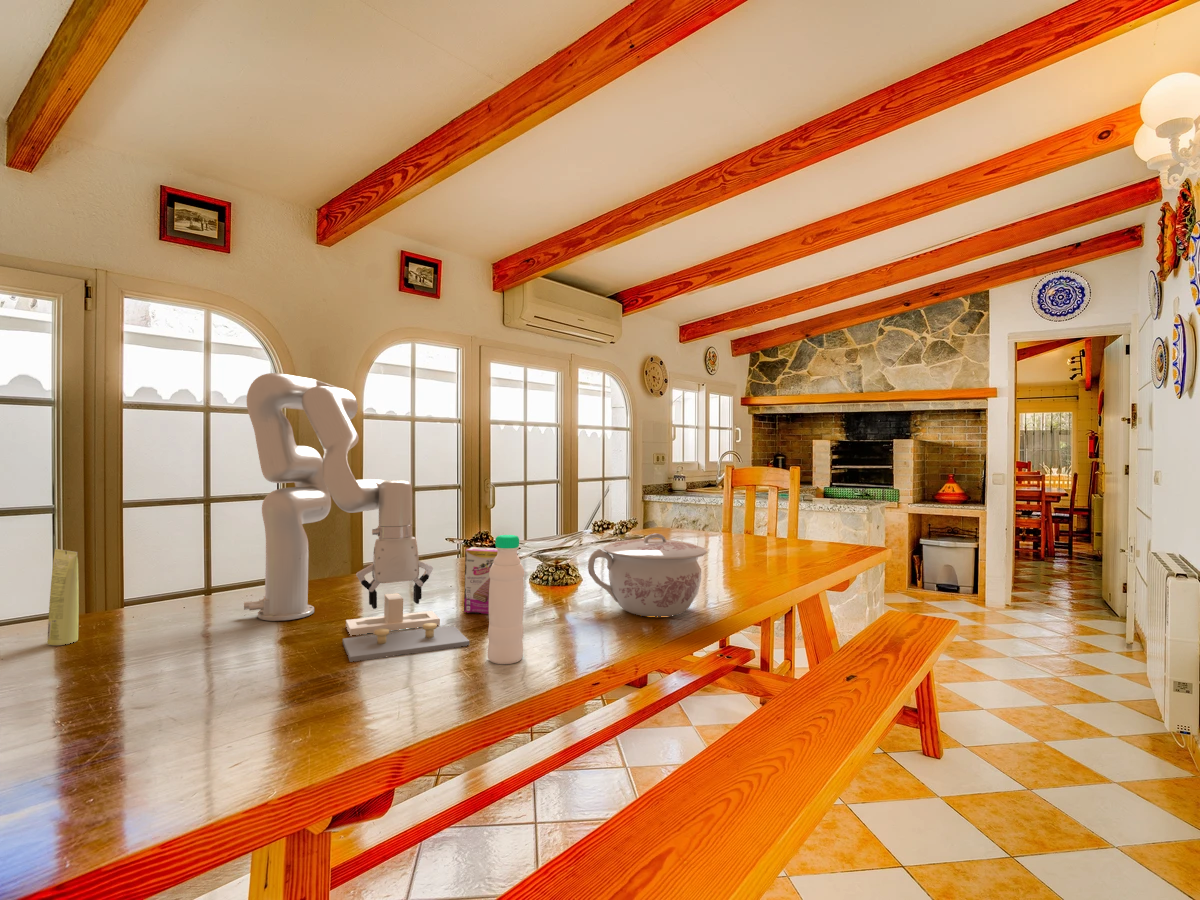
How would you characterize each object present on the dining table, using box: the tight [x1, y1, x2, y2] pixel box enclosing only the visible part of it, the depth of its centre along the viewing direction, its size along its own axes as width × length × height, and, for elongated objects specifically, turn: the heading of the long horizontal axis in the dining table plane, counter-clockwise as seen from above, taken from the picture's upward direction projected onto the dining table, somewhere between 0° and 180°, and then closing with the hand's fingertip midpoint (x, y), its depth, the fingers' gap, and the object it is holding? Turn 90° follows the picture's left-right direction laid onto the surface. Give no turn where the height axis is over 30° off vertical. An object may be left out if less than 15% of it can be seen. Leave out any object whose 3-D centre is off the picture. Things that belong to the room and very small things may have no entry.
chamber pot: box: [587, 533, 708, 617], centre depth 165 cm, size 28×28×21 cm
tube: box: [47, 548, 80, 646], centre depth 131 cm, size 6×5×20 cm
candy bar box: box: [463, 546, 498, 615], centre depth 161 cm, size 11×5×16 cm, turn 84°
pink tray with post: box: [345, 592, 441, 637], centre depth 147 cm, size 20×8×7 cm, turn 118°
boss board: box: [342, 623, 470, 663], centre depth 134 cm, size 24×13×4 cm, turn 118°
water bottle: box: [487, 534, 525, 665], centre depth 126 cm, size 7×7×25 cm
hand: (395, 605), depth 147 cm, fingers open, 9 cm apart
